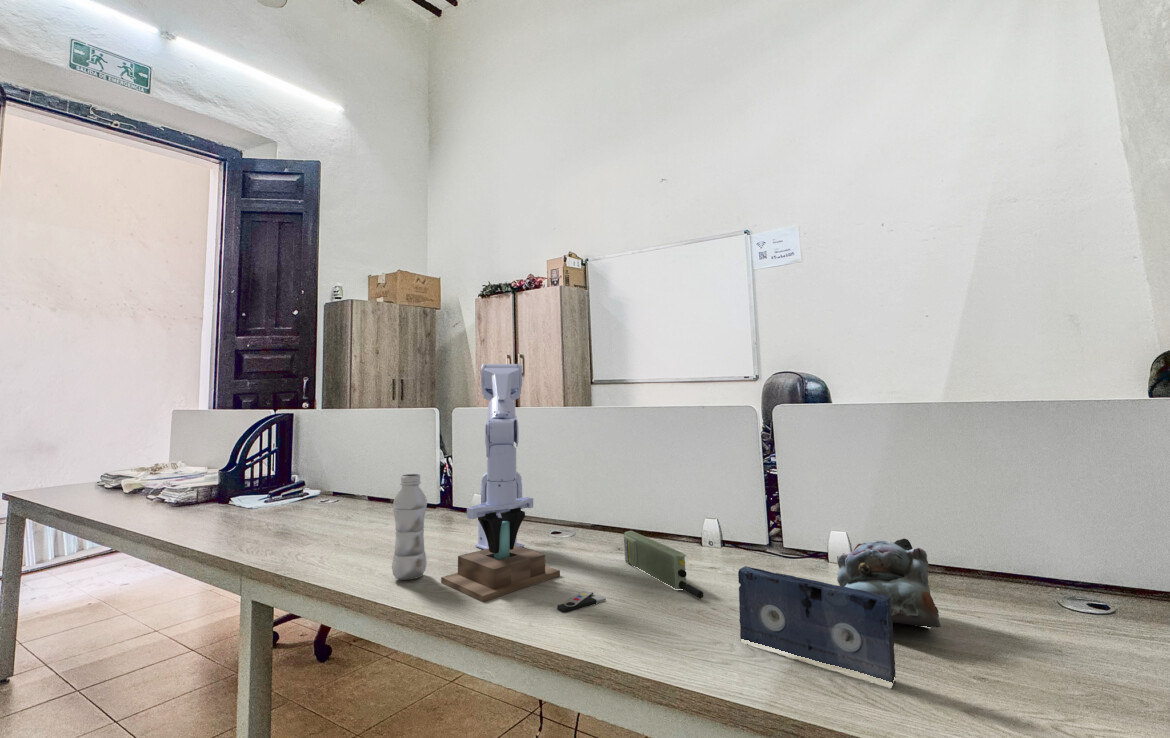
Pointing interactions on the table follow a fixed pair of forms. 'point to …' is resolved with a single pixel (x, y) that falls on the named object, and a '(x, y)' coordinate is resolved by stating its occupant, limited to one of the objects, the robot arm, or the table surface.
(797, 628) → the vhs cassette tape
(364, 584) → the table surface
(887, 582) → the lucky cat figurine
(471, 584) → the socket board
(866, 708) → the table surface
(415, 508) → the plastic bottle
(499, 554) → the peg
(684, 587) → the handheld radio
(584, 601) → the usb flash drive
